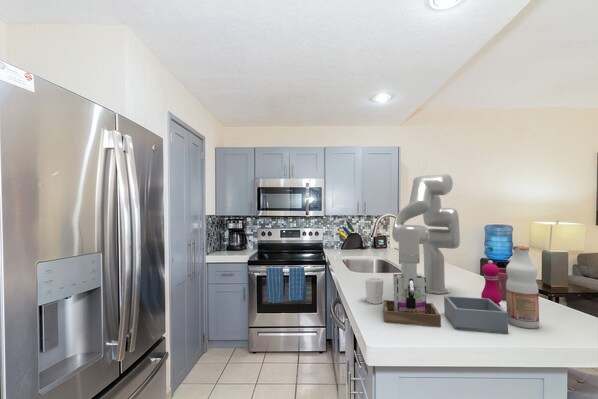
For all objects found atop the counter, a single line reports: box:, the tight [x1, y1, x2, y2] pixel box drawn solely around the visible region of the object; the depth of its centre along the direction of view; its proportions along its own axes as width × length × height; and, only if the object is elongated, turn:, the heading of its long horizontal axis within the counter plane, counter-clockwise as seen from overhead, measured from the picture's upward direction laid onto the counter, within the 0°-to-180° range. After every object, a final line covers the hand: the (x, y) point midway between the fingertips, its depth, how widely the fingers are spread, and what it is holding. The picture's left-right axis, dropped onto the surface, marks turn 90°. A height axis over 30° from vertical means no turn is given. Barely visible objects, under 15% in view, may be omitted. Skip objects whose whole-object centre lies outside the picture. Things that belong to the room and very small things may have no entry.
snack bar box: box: [392, 273, 427, 314], centre depth 113 cm, size 11×5×16 cm, turn 90°
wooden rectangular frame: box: [382, 299, 442, 328], centre depth 113 cm, size 14×19×4 cm
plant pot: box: [497, 267, 508, 301], centre depth 138 cm, size 14×14×13 cm
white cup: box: [364, 277, 384, 305], centre depth 132 cm, size 8×8×10 cm
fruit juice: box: [505, 245, 540, 329], centre depth 107 cm, size 9×9×28 cm
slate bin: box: [443, 295, 509, 335], centre depth 108 cm, size 16×16×7 cm
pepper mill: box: [480, 259, 503, 307], centre depth 124 cm, size 7×7×20 cm
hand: (409, 305), depth 113 cm, fingers closed on snack bar box, 5 cm apart
